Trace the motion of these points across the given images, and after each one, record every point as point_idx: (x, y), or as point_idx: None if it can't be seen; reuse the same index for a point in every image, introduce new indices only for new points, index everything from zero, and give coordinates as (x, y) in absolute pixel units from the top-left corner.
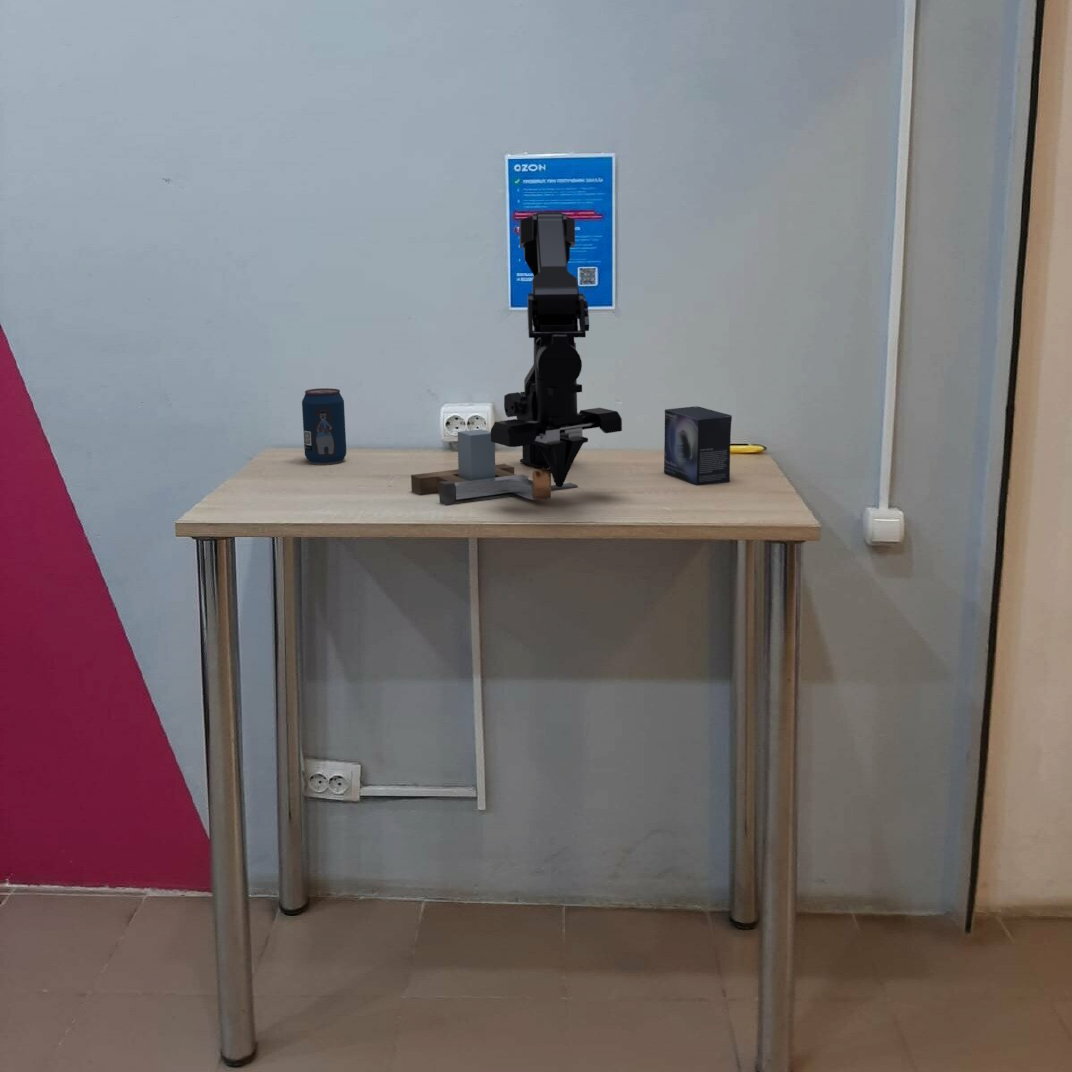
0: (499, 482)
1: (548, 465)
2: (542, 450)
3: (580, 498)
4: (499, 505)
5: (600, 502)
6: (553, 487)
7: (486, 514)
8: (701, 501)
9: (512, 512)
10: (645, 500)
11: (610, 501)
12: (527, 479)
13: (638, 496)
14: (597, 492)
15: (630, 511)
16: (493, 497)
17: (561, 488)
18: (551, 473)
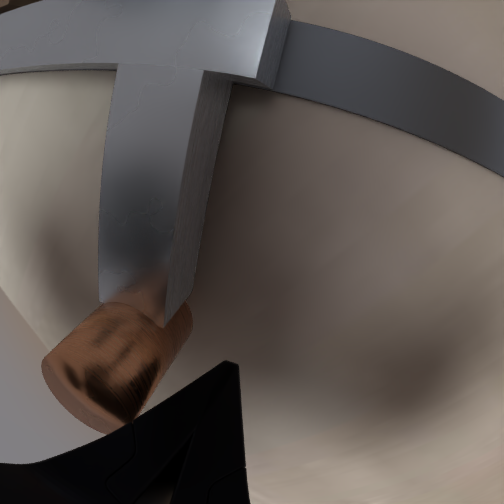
0: (69, 64)
1: (138, 419)
2: (39, 474)
3: (369, 347)
4: (56, 181)
5: (351, 419)
6: (457, 129)
7: (3, 241)
8: (463, 499)
9: (50, 283)
10: (436, 462)
11: (382, 428)
12: (176, 155)
13: (478, 432)
14: (496, 327)
15: (303, 486)
16: (91, 69)
17: (480, 163)
18: (177, 393)
